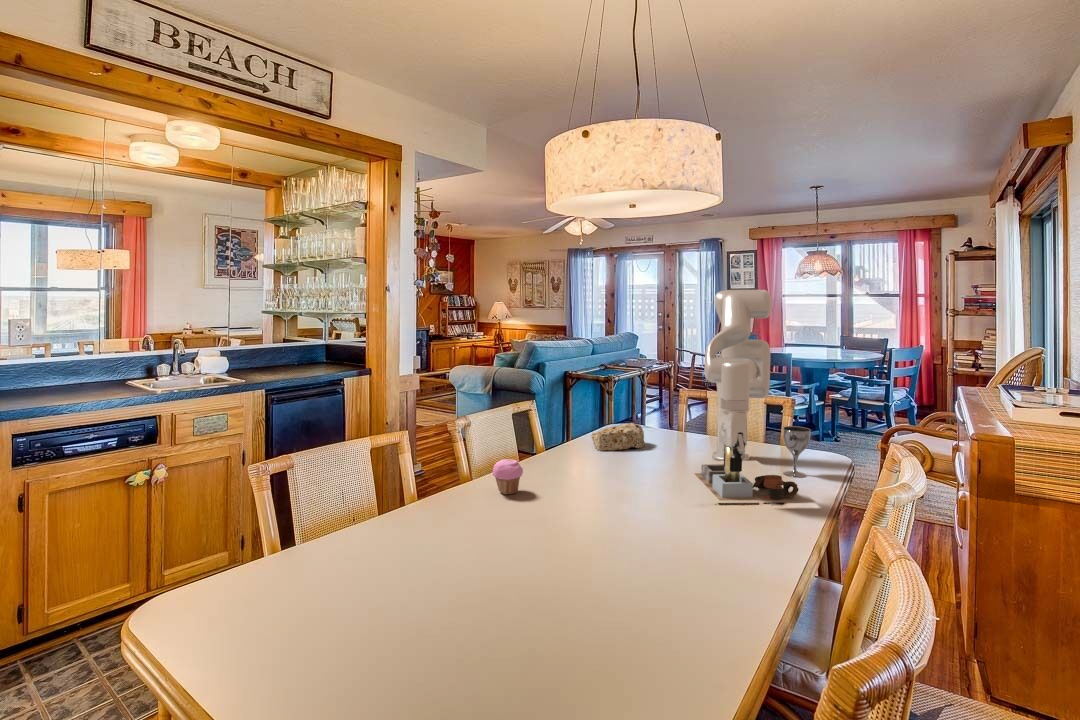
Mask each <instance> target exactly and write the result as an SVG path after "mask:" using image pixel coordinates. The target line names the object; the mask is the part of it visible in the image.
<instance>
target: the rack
mask: <svg viewBox="0 0 1080 720" xmlns="http://www.w3.org/2000/svg"><path fill="white" fill-rule="evenodd" d="M753 485H754V483H753V482H752V481H751V480H750V479H748V478H747V477H746V476H744V475H743V474H741V473H740V482H725V474H713V484H712V488H713V489H714V490H715V491H716V492H717V493H718V494H719V495H720V496H721V497H722V498H752V494H754V493H753V490H754V488H753Z"/></svg>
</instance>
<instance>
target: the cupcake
mask: <svg viewBox="0 0 1080 720" xmlns="http://www.w3.org/2000/svg"><path fill="white" fill-rule="evenodd" d="M523 473H524V470H523V467H522V465H521V464H520V463H519V461H518V460H515V459H513V458H512V459H510V458H508V459H506V458H503V459H501V460H499V461H497V462H496V463H495V464H494V465H493V468H492V476H493V477H495V478H494V479H495V481H496V485H497V489H498V491H499V492H500V493H501V494H503V495H510V494H511V495H512V494H517V493H518V492H519V487H520V479H521V477H522V476H523Z"/></svg>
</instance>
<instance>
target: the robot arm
mask: <svg viewBox="0 0 1080 720" xmlns="http://www.w3.org/2000/svg"><path fill="white" fill-rule="evenodd" d="M772 306H773V303H772V297H771V294H770V293H769V291H768V290H766V289H725V290H720V291H718V292H716V294H715V295H714V307H715V312H716V314H717V315H718V319H719V321H720V325H721V331H719V332H718V333H717V334H716V335H715V336H714V337H713V338H712V339H711V340H710V341H709V343H708V344H707V346H706V349H705V355H704V370H703V371H704V376H705V377H704V378H705V379H706V380H707V381H708V382H709V383H714V384H716V391H717V393H716V394H717V406H718V407H717V437H716V438H717V441H716V442H717V443H716V445H717V446H716V451H714V452H712V455H711V457H712V458H713V459H714V460H716V461H719V462H723V464H724V466H725V453H726V446H728V447H729V448H731V457H730V471H731V472H740V473H741V472H742V471H743V470H742V469H743V462H746V461H747V462H748V461H750V459H751V458H750V455H749V454H747V453H746V447H747V444H748V419H747V418H748V416H747V415H748V414H747V413H748V412H749V411H750V399H764V398H767V396H768V395H769V392H770V388H771V387H770V382H771V380H770V379H771V347H770V344H769V343H768V341H766V340H763V339H749V337H750V336H751V330H752V328H751V327H752V326H751V322H752V320H751V319H767V318H769V317H770V315H771V312H772V308H773V307H772ZM719 352H721V354H720V355H721V357H716V356H717V354H718V353H719ZM735 444H738V446H735ZM735 449H738V450H736V451H735Z"/></svg>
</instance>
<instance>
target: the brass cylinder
mask: <svg viewBox="0 0 1080 720" xmlns="http://www.w3.org/2000/svg"><path fill="white" fill-rule="evenodd" d="M735 446H738V444H735ZM736 450H738V449H735V451H736ZM730 457H731V448H729V447H728V446H726V453H725V482H740V474H741V472H731V471H730Z"/></svg>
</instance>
